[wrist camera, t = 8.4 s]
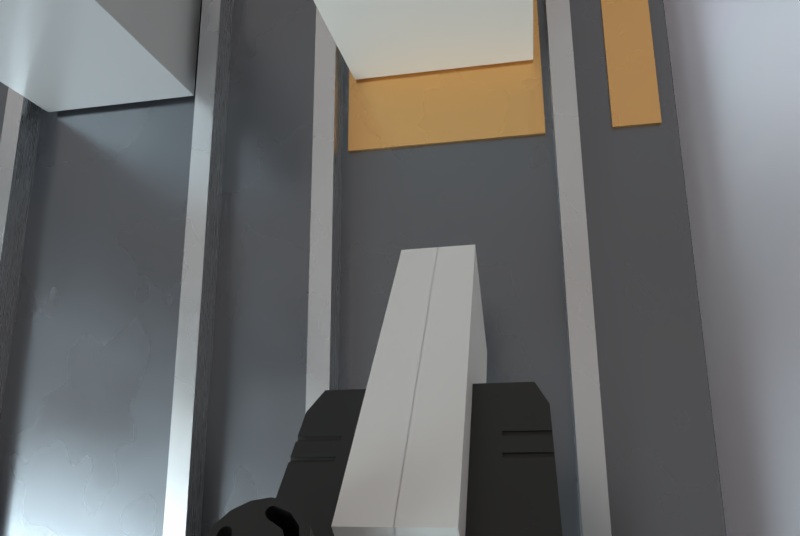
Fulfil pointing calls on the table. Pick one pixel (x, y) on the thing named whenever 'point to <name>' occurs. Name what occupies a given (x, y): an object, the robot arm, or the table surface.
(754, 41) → the table surface
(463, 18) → the white fader
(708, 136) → the table surface
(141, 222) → the grey board
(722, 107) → the table surface
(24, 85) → the block
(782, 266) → the table surface
